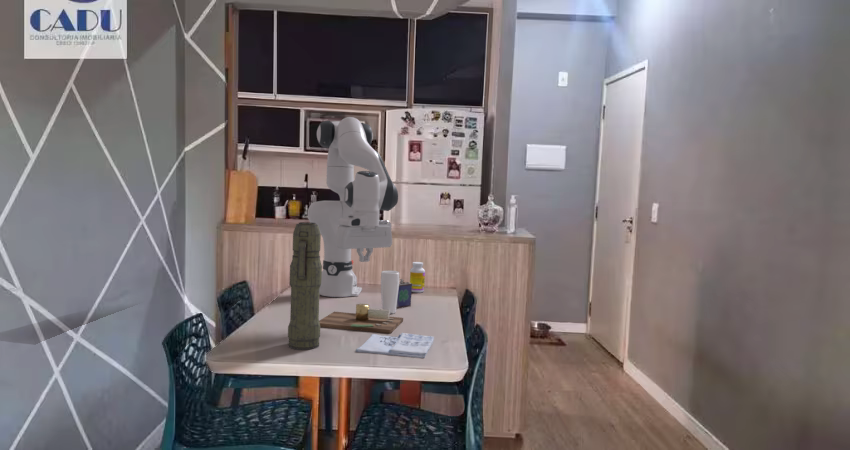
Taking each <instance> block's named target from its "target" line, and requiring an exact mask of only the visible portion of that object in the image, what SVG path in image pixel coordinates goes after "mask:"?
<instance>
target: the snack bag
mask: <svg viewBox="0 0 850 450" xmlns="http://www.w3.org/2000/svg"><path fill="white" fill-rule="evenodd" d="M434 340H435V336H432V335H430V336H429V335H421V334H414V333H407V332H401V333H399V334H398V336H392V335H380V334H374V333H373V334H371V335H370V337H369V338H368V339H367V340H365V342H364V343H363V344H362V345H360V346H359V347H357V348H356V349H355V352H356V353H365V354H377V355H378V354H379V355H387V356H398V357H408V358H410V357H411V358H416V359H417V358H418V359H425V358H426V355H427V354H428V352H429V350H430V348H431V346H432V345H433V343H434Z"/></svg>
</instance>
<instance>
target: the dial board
mask: <svg viewBox="0 0 850 450" xmlns="http://www.w3.org/2000/svg"><path fill="white" fill-rule="evenodd" d="M319 322H320V328H328V329H329V328H330V329H339V330H348V331H349V330H352V331H358V330H359V332H361V331H362V332H371V333H380V334H392V333H393V332H394V331H395V330H396V329H397V328H398V327H399V326H400V325H401V324H402V323H403V322H404V317H399V316H397V317H396V316H390V317H389V320H385V319H374V318H369V320H366V321H359V320H356V312H355V313H354V312H343V311H332V312H331V313H330V314H327V315H326V316H324V317H323V318H321V319H320V320H319Z"/></svg>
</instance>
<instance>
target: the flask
mask: <svg viewBox="0 0 850 450" xmlns="http://www.w3.org/2000/svg"><path fill="white" fill-rule="evenodd" d="M412 293H413V292H412V283H410V281H409V282H408V281H405V280H404V279H403V278H399V290H398V298H397V306H396V309H402V307H403V308H407V307H411V306H412Z"/></svg>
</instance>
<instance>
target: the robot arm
mask: <svg viewBox="0 0 850 450" xmlns="http://www.w3.org/2000/svg"><path fill="white" fill-rule="evenodd" d="M316 138H317V139H316V140H317V142H318V144H319V146H321V147H322V148H327V149H328V151H327V159H326V160H327V161H326V179H325V181H326V186H327V187H328V189H329V190H331V191H332V192H334V193H336V194H338V196H339V200H319V201H318V200H317V201H314V202H312V203H311V204H309V207H308V209H307V219H308V221H309V222H310V223H316V224H317V225H318V226H319V229H320V233H321V238H322V240H323V250H324V251H323V252H324V253H323V254H324V255H323V258H324V259H323V260H322V269H323V270H322V279H321V286H320V290H319V296H323V297H329V298H330V297H331V298H342V297H343V298H346V297H357V296H359V295H360V293H361V291H363V287H361V286H358V278H357V277H358V276H357V275H356V274H355V273H354V270H353V265H354V260H352V249H353V250H356V253H357V254H358V257H359V259H358V260H359V262H360V263H367V262H368V263H369V262H370V257H371V256H372V253H373V252H374V249H379V248H391V247H392V245H393V235H392V234H393V231H392V227H393V225H392V223H391V222H390V221H389V220H387V219H386V220H385V219H384V220H383V219H380V211H386V212H389V211H390V210H392V209H394V207H396V206H397V205H398V201H399V193H398V188H397V187H396V185H395V184H394V182H393V181H392V179H391V177H390V174H389V172H388V170H387V167H386V164H385V162H384V161H383V158H382V157H381V154H380V153H379V151H378V150H375V149H374V148H373V147H372V146H371V145H372V143H373V142H372V141H373V140H374V139H373V138H374V134H373V129H372V126H370V124H367V123H364V122H361V121H360V120H359V119H358V118H356V117H353V116H348V117H344V118H343V119H341V120H337V121H336V120H334V121H333V120H332V121H331V120H323V121H322V122H320V123H319V125H318V127H317V130H316ZM355 167H360V168H363V169H366V170H359V171H357V172H356V173H355V172H354V171H355V169H354V168H355ZM354 173H355V174H354ZM365 250H366V252H365V254H363V252H364V251H365Z"/></svg>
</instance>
